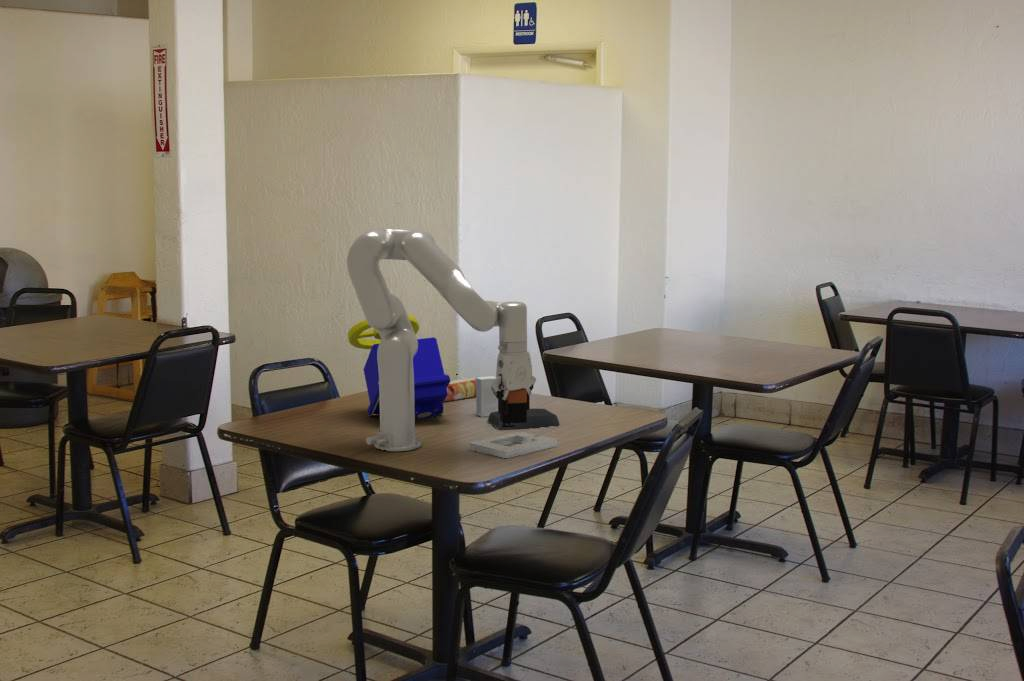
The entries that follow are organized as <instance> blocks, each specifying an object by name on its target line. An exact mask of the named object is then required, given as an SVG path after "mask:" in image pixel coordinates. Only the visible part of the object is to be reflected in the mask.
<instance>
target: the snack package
mask: <svg viewBox="0 0 1024 681" xmlns="http://www.w3.org/2000/svg"><path fill="white" fill-rule="evenodd" d="M447 393H448V395H447V397H446V398H445V400H444V402H443V403H446V402H445V401H447V402H452V400H453V401H458V399H459V400H464V399H470V398H471V397H472V398H476V377H470V376H469V377H464V378H459V379H454V380H450V383H449V385H448V387H447Z"/></svg>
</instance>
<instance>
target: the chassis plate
mask: <svg viewBox="0 0 1024 681" xmlns="http://www.w3.org/2000/svg"><path fill="white" fill-rule="evenodd" d="M516 443H517V444H516ZM514 444H516V445H514ZM468 445H469V446H468V449H469V451H471V450H473V451H472V452H475V451H477V452H476V453H479V452H481V453H480V454H483V453H485V454H484V455H487V454H490V455H489V456H491V455H495V456H494V457H496V456H499V457H498V458H500V457H502V458H501V459H504V458H507V459H511V458H514V457H515V456H516V457H519V455H520V456H523V455H524V456H525V455H527V454H532V453H536V452H539V451H543V450H548V449H551V448H552V449H553V448H555V447H557V446H558V439H557V438H553V437H548V436H544V435H543V436H542V435H541V436H537V437H535V434H534V433H528V432H525V431H516V432H513V433H508V434H502V435H499V436H494V437H490V438H485V439H481V440H475V441H471V442H469V443H468ZM504 445H505V446H504ZM509 445H511V446H509Z"/></svg>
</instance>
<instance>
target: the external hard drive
mask: <svg viewBox="0 0 1024 681" xmlns="http://www.w3.org/2000/svg"><path fill="white" fill-rule="evenodd" d="M487 422H488V423H487ZM486 423H487V424H489V425H490V424H491V425H490V426H491V427H493V426H494V427H495V428H494V427H493V428H494V429H496V428H497V429H498V431H516V430H530V428H533V429H541V428H540V427H545V428H550V427H549V426H555V427H560V426H559V425H561V424H560V421H559V418H558V416H557V414H554V412H551V411H549V410H547V409H546V408H530V409H529V410H527V422H526V423H511V424H503V423H502V422H501V421H500V413H498V411H496V412H491V413H490V415H489V416H488V418H487V421H486ZM497 429H496V430H497Z"/></svg>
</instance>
